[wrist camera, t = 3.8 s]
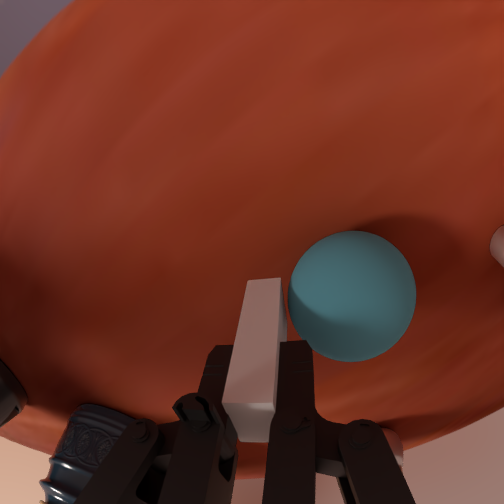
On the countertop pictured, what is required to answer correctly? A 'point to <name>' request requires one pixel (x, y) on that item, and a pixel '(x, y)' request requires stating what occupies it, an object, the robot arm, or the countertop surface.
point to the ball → (352, 296)
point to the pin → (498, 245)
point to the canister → (81, 451)
